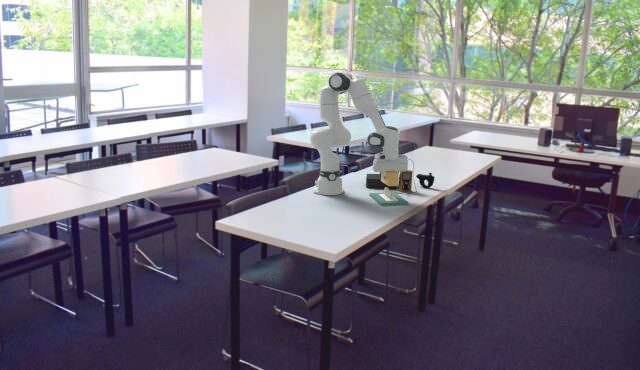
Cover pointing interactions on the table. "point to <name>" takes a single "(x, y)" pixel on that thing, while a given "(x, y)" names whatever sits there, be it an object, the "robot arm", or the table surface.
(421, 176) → the controller
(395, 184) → the block
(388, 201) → the board
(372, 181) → the black block with post
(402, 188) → the multimeter
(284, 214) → the table surface
